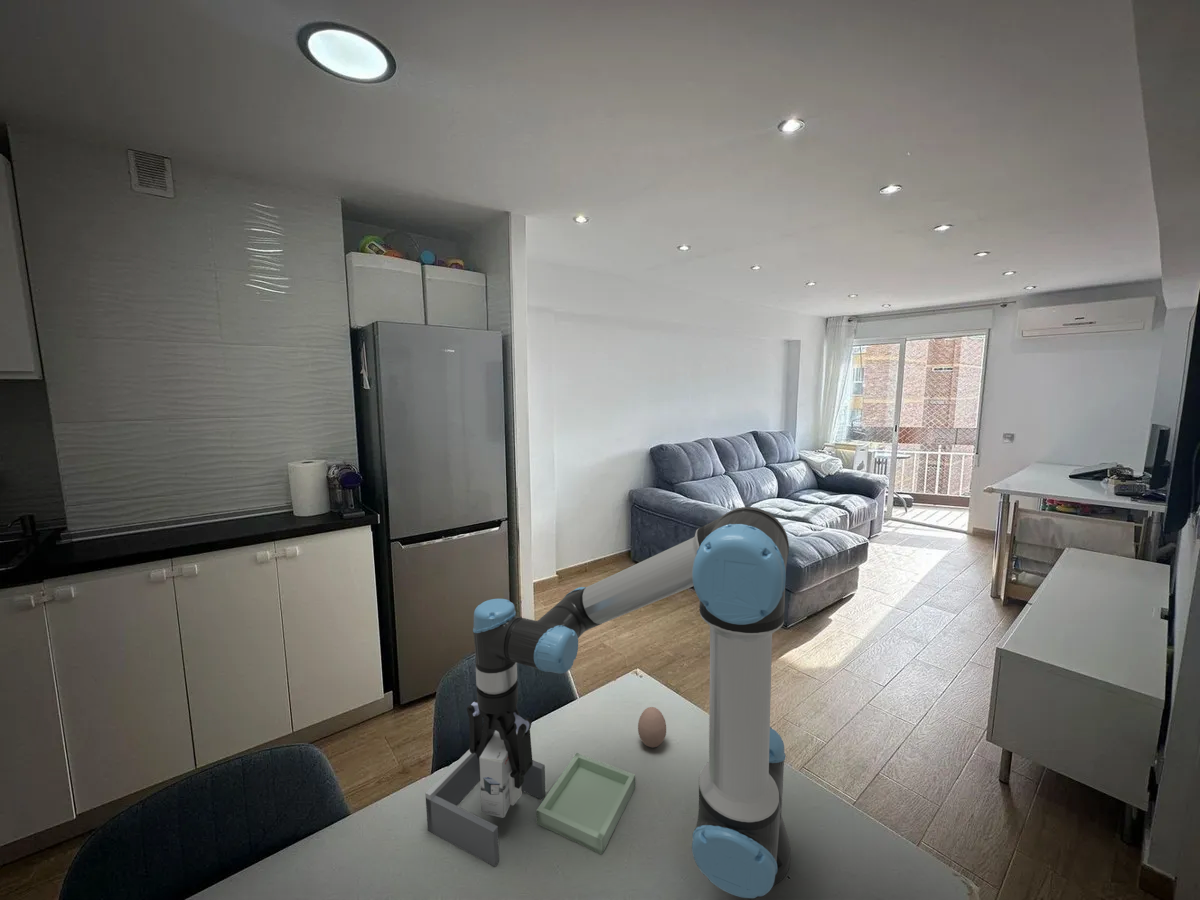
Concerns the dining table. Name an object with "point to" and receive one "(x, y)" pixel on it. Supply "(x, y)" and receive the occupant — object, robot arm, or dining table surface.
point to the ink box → (495, 777)
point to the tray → (587, 802)
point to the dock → (463, 824)
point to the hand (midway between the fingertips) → (502, 792)
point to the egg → (652, 727)
